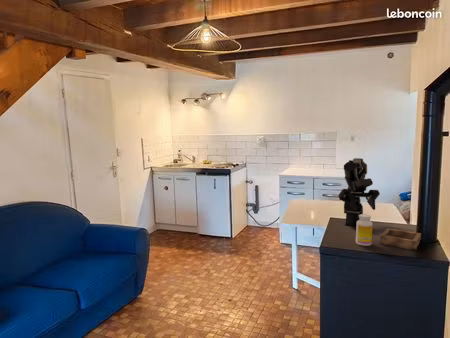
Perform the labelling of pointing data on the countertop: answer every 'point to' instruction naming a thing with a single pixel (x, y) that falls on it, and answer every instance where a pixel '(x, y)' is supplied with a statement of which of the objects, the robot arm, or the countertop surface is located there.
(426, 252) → the countertop surface
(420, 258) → the countertop surface
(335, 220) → the countertop surface
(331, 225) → the countertop surface
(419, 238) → the box
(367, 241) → the supplement bottle
